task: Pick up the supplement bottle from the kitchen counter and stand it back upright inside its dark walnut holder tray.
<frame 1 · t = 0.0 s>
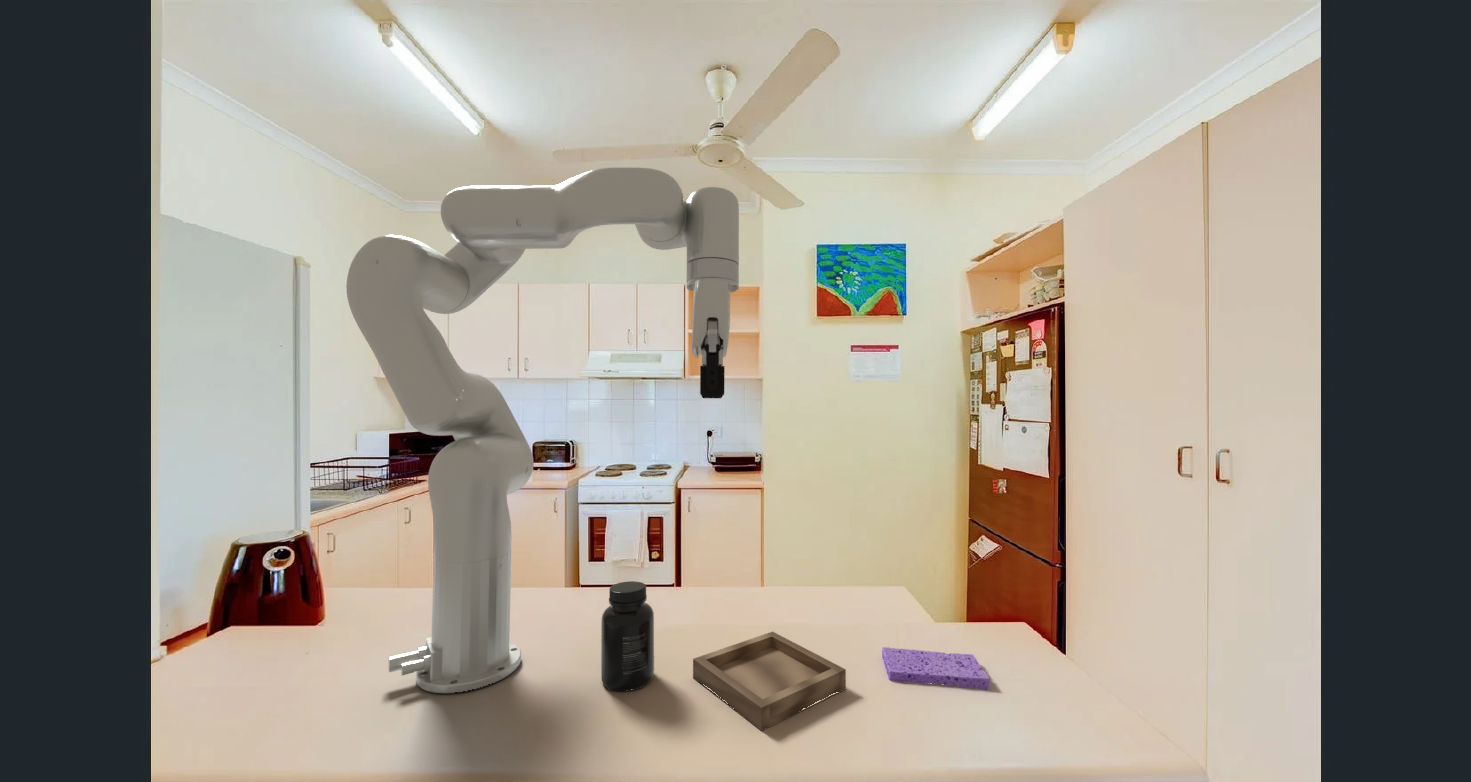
hand: (712, 397, 72), 37 cm above the worktop, tool pointing down, fingers open, 9 cm apart
supplement bottle: (627, 680, 67), on the worktop
walnut tray: (767, 683, 66), on the worktop
sponges: (932, 676, 69), on the worktop
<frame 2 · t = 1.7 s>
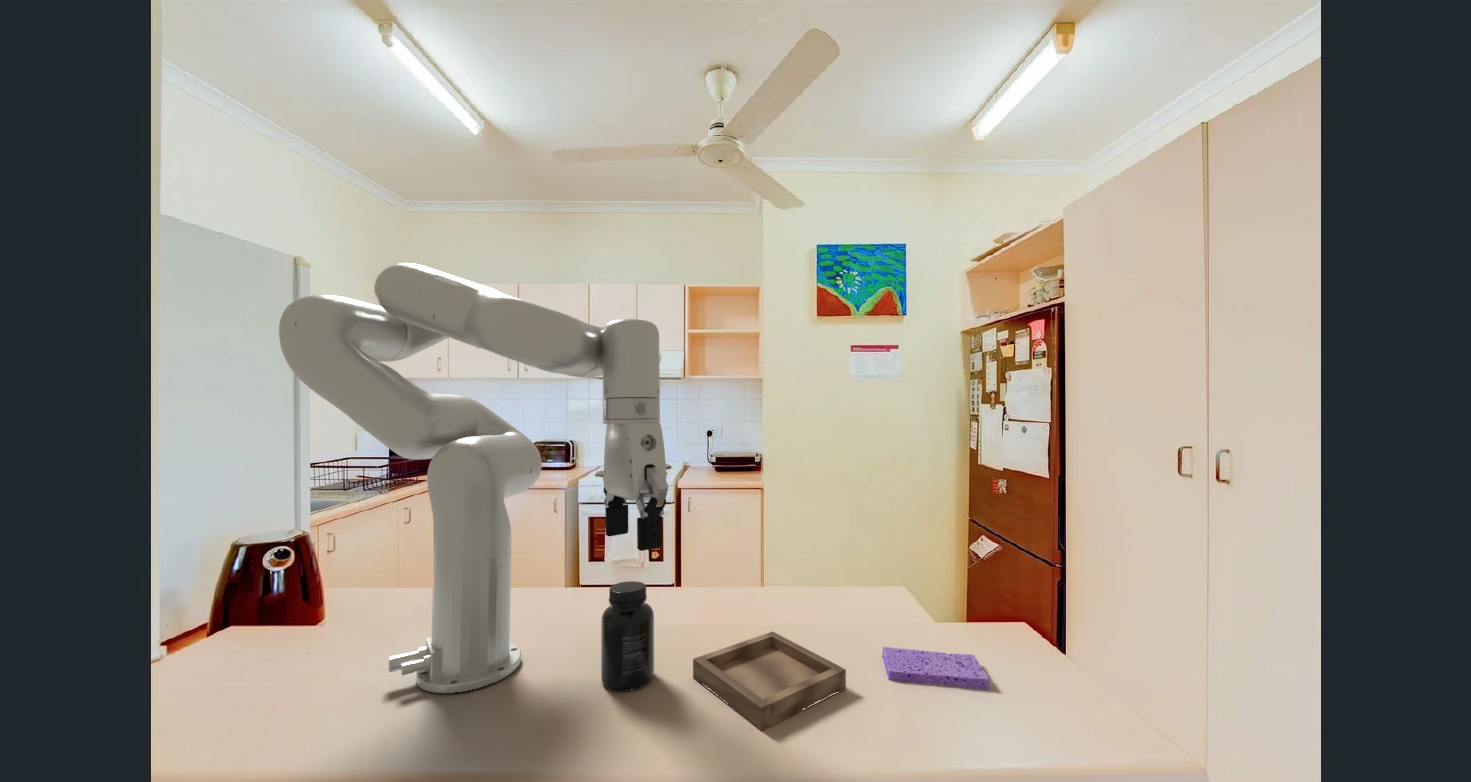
hand: (632, 541, 68), 18 cm above the worktop, tool pointing down, fingers open, 9 cm apart
nothing on the worktop moved.
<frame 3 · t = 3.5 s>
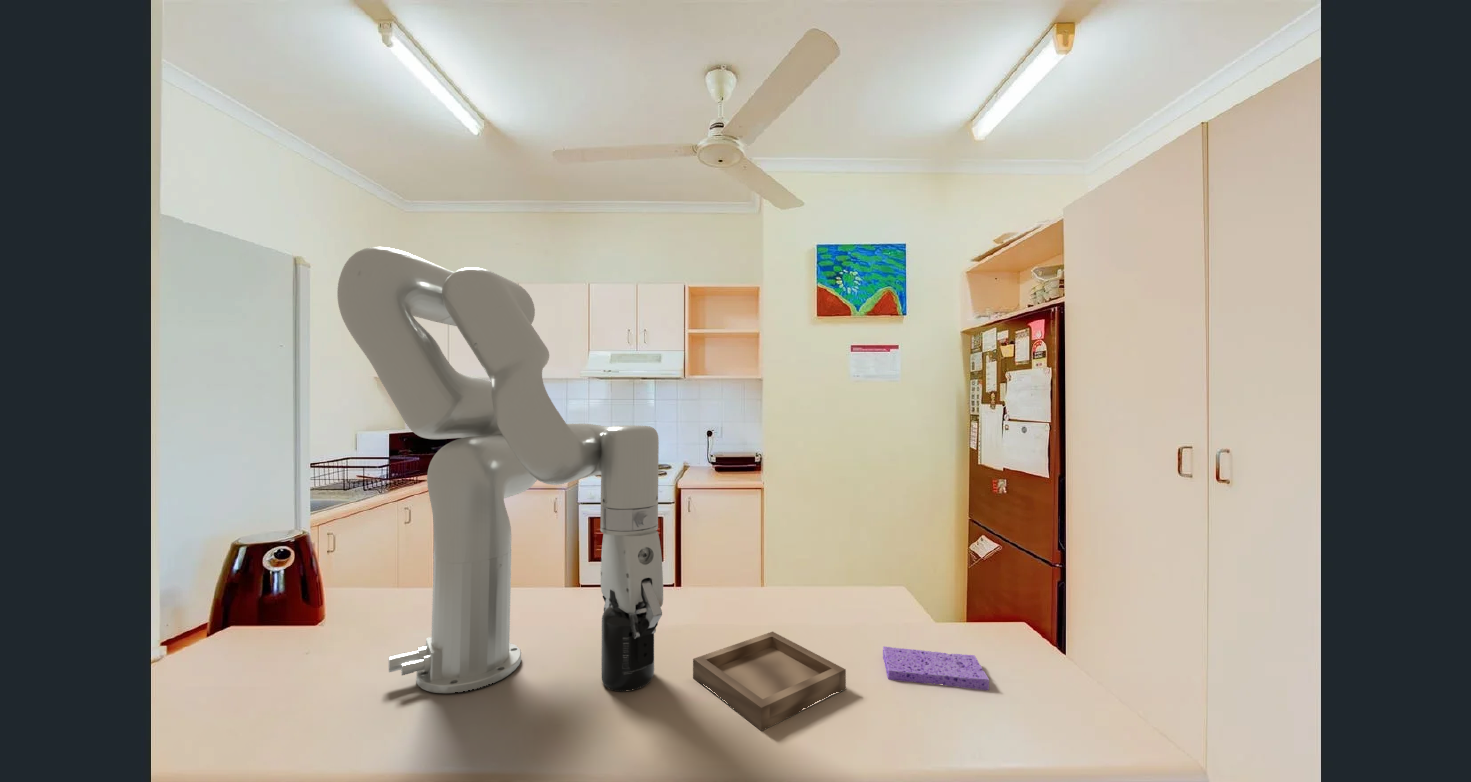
hand: (628, 653, 67), 3 cm above the worktop, tool pointing down, fingers closed on supplement bottle, 6 cm apart
supplement bottle: (627, 680, 67), on the worktop, touching gripper
everything else where it was.
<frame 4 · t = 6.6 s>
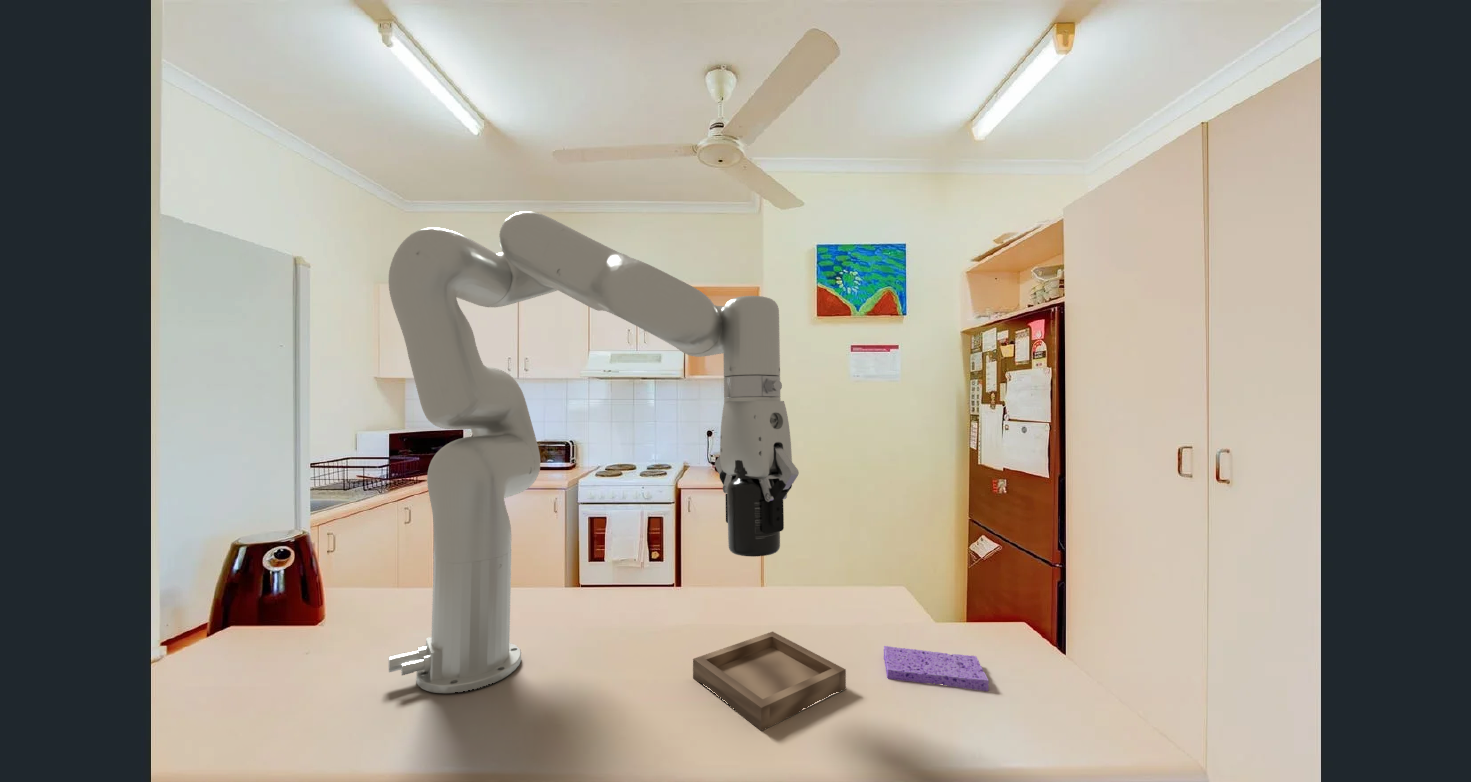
hand: (753, 525, 67), 20 cm above the worktop, tool pointing down, fingers closed on supplement bottle, 6 cm apart
supplement bottle: (753, 552, 67), point 17 cm above the worktop, touching gripper
everything else where it was.
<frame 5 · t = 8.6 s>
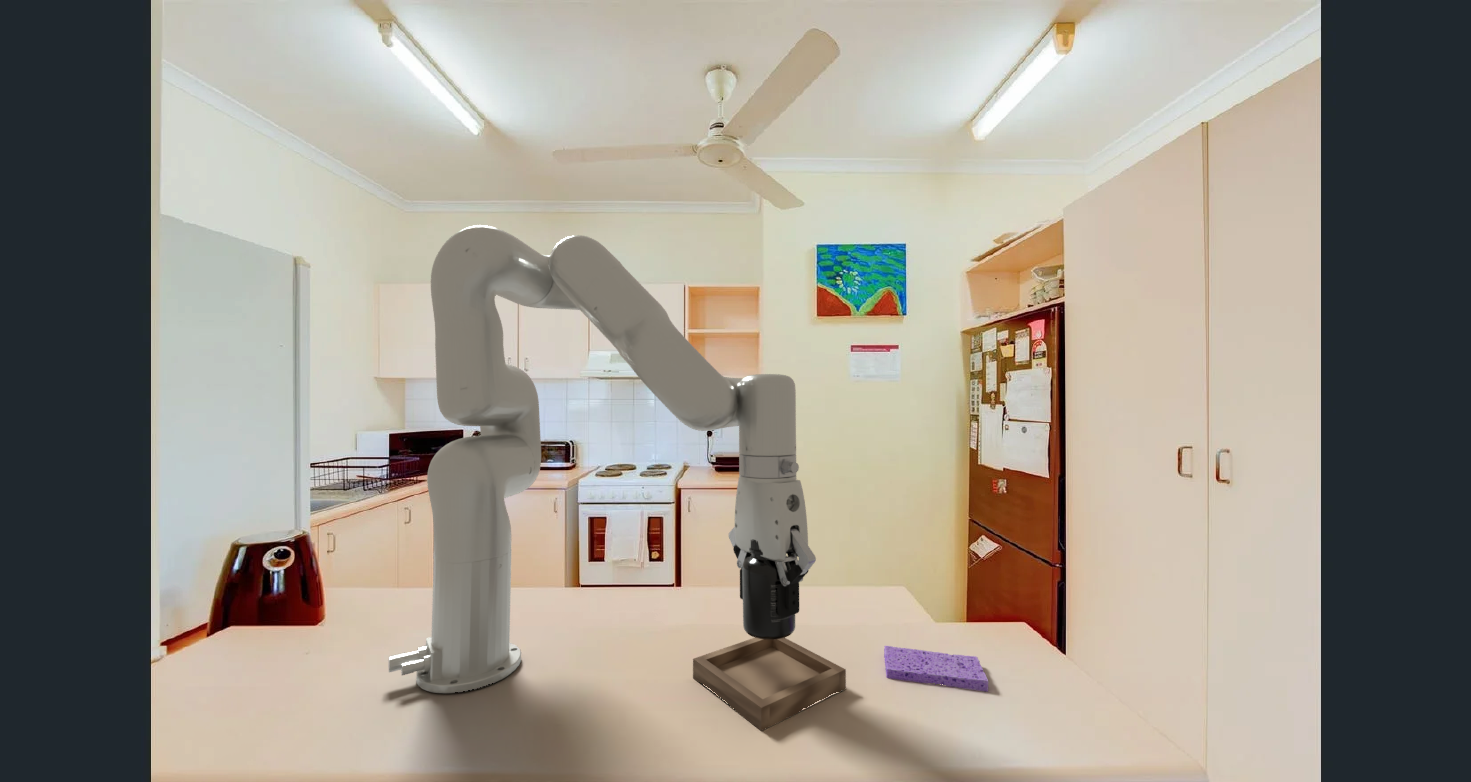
hand: (768, 604, 66), 10 cm above the worktop, tool pointing down, fingers closed on supplement bottle, 6 cm apart
supplement bottle: (768, 631, 66), point 7 cm above the worktop, touching gripper
everything else where it was.
when the fingers open (6 cm above the worktop, at t = 10.0 s): supplement bottle drops 1 cm, resting on walnut tray.
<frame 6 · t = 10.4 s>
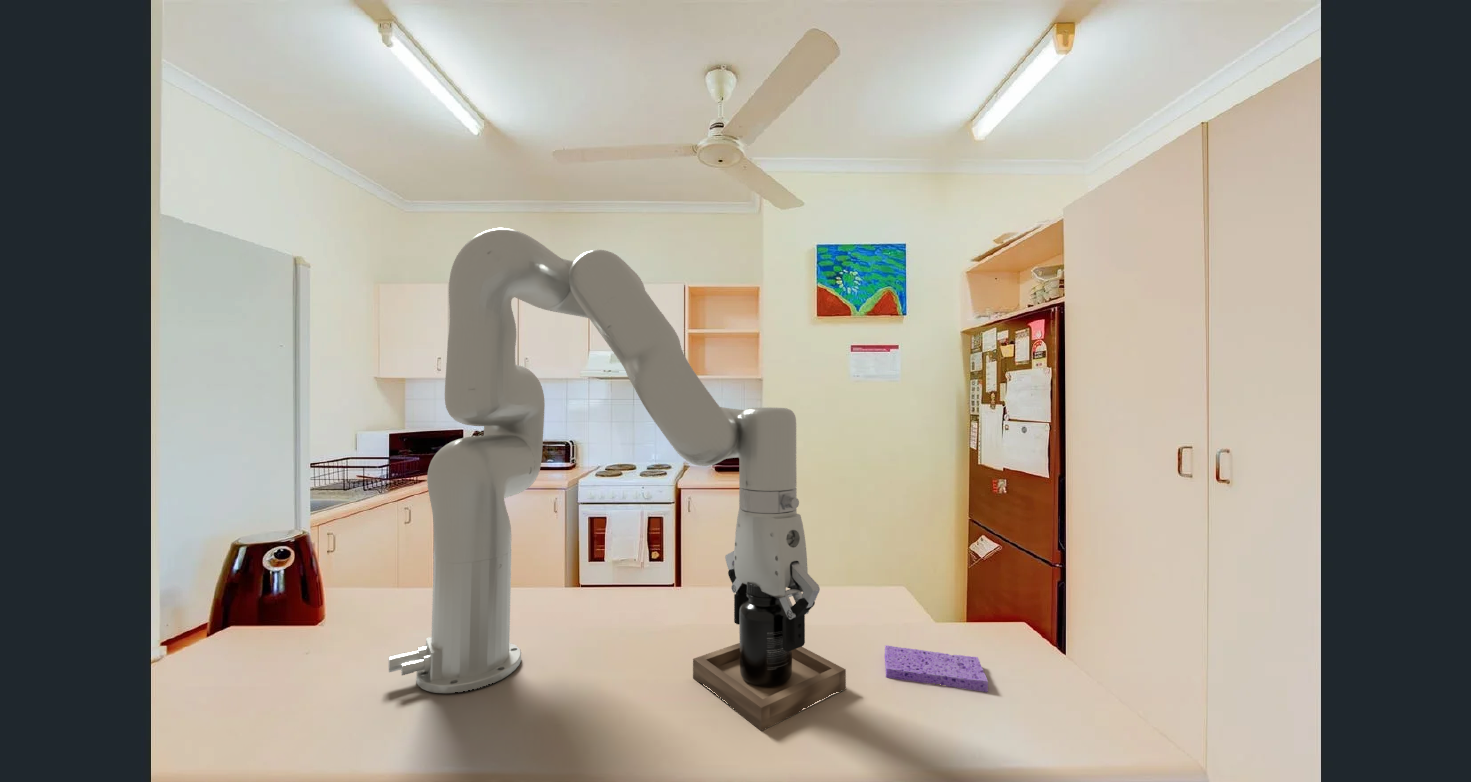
hand: (767, 634, 66), 6 cm above the worktop, tool pointing down, fingers open, 9 cm apart
supplement bottle: (765, 676, 66), point 1 cm above the worktop, touching walnut tray
everything else where it was.
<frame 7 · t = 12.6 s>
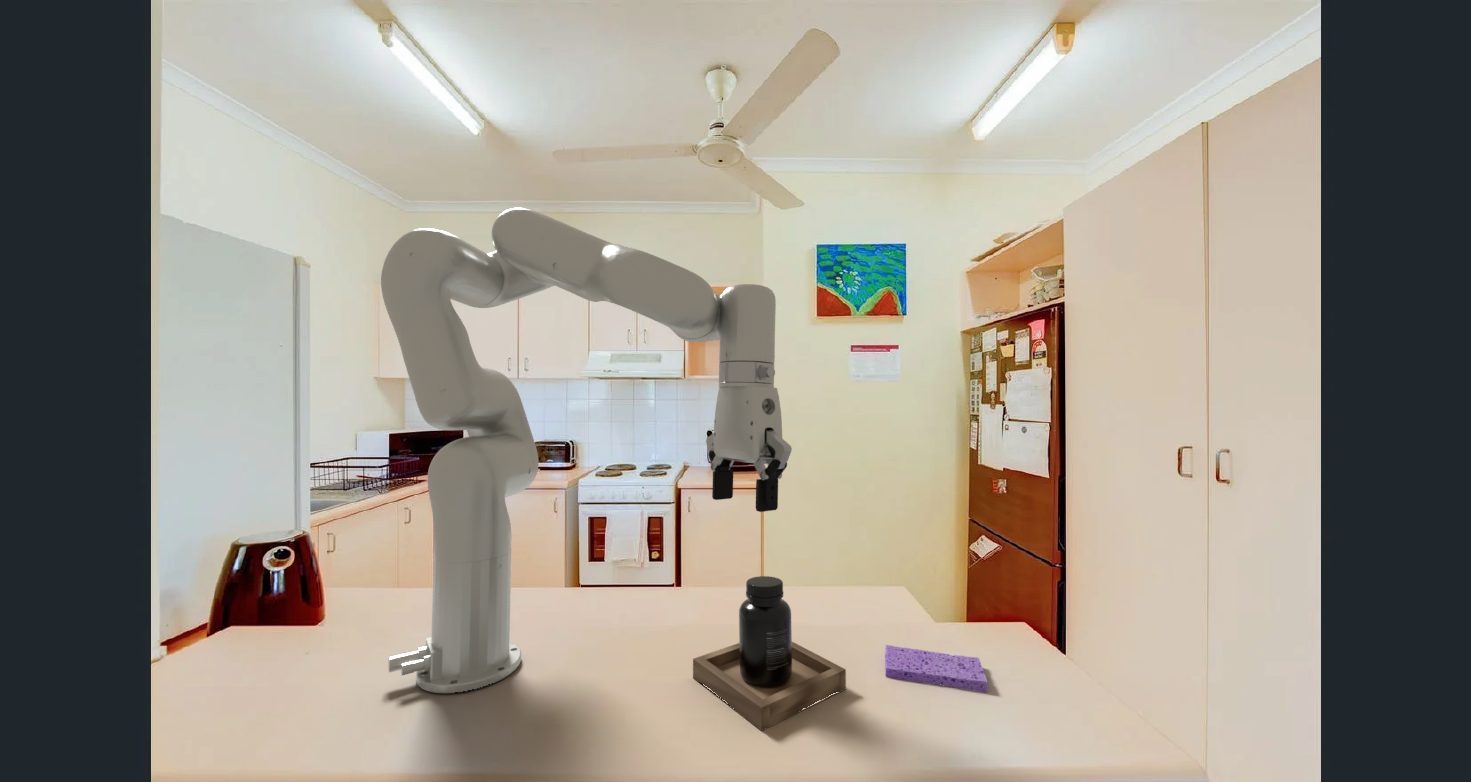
hand: (743, 504, 68), 23 cm above the worktop, tool pointing down, fingers open, 9 cm apart
nothing on the worktop moved.
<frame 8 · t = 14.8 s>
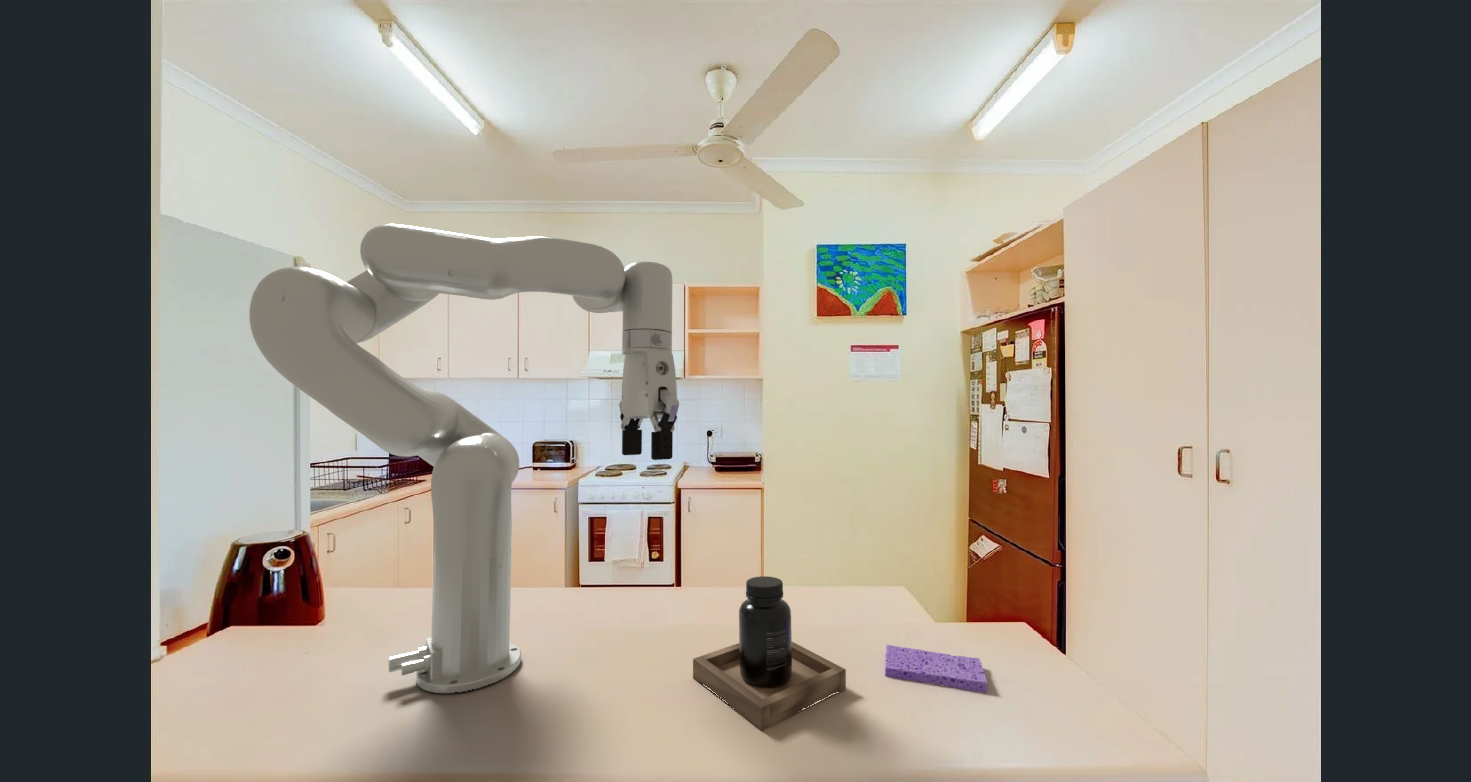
hand: (646, 456, 77), 28 cm above the worktop, tool pointing down, fingers open, 9 cm apart
nothing on the worktop moved.
at the end: supplement bottle 0.4 cm off-centre on the walnut tray, point 0.8 cm above the walnut tray's base; supplement bottle tilted 0°; the gripper is holding nothing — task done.
